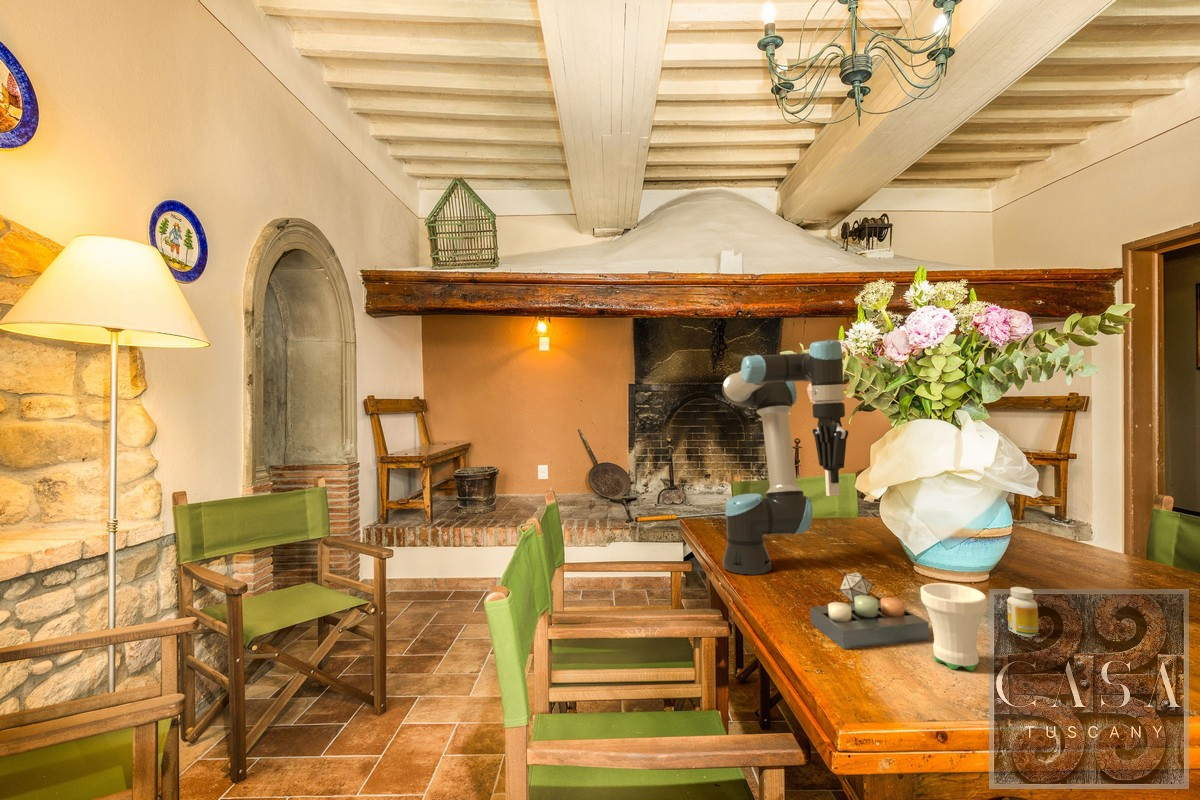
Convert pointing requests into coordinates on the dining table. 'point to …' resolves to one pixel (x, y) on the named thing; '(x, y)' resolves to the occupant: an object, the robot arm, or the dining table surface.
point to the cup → (954, 622)
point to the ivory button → (839, 612)
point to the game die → (855, 585)
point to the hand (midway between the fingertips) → (832, 495)
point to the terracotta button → (892, 607)
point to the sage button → (866, 606)
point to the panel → (870, 628)
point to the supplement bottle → (1022, 612)
